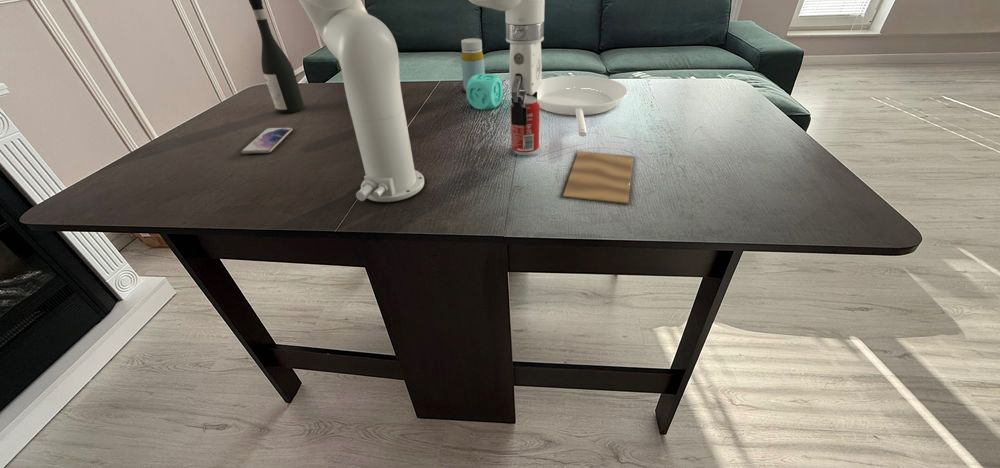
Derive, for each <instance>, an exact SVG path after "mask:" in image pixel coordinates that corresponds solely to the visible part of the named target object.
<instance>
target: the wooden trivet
mask: <svg viewBox="0 0 1000 468" xmlns="http://www.w3.org/2000/svg"><path fill="white" fill-rule="evenodd" d="M633 159H634V157H633V156H631V155H619V154H609V153H608V154H607V153H597V152H588V151H587V152H586V151H585V152H584V151H577V154H576V157H575V159H574V162H573V165H572V168H571V171H570V174H569V177H568V180H567V182H566V185H565V188H564V191H563V194H562V197H563V198H571V199H578V200H579V199H580V200H588V201H597V202H606V203H615V204H623V205H628V204H629V199H630V198H629V197H630V189H631V180H632V179H631V178H632V171H633V170H632V169H633V161H634V160H633Z"/></svg>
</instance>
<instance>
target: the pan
mask: <svg viewBox="0 0 1000 468" xmlns="http://www.w3.org/2000/svg"><path fill="white" fill-rule="evenodd" d="M574 87H575V88H574ZM566 88H570V89H566ZM581 88H591V89H595V90H591V89H581ZM596 90H598V91H596ZM600 91H601V92H600ZM536 92H537V102H538V104H539V106H540V109H541V110H544V111H547V112H550V113H553V114H556V115H557V114H558V115H562V116H576V117H575V118H576V124H577V131H578V135H579V137H582V138H585V137H586V136H587V135H588V133H587V128H586V122H585V116H592V115H598V114H601V113H605V112H608V111H610V110H612V109H614V107H616V106H617V105H618V104H619V103H620V102H621V101H623V100H624V99H625V98H626V97H627V95H628V93H629V92H628V88H627V87H626V86H625V85H624V84H622V83H621V82H619V81H616V80H614V79H611V78H606V77H603V76H602V77H601V76H594V75H585V74H584V75H583V74H581V75H580V74H579V75H578V74H577V75H576V74H574V75H572V74H571V75H558V76H557V75H556V76H551V77H545V78H542V82H541V85H540V86H539V88H538V89H537V91H536Z"/></svg>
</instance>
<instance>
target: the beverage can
mask: <svg viewBox="0 0 1000 468" xmlns="http://www.w3.org/2000/svg"><path fill="white" fill-rule="evenodd" d="M521 98H522V99H523V96H521ZM525 106H527V124H526V126H521V125H512V118H511V117H510V137H511V138H510V141H511V143H510V145H511V150H513V151H514V152H515V154H518V155H520V156H530V155H533V154H535V153H536V152H537V150H538V149H539V148H540V114H541V113H540V111H541V110H540V109H541V108H540V106H539V104H538V102H537V99H536V98H535V97H533V96H527V98H526V104H525Z"/></svg>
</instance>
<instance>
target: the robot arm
mask: <svg viewBox="0 0 1000 468" xmlns="http://www.w3.org/2000/svg"><path fill="white" fill-rule="evenodd" d="M298 1H299V3H300V5H301V7H302V8H303V10H304V11H305V13H306V15H307V17H308V18H309V21H310V22H311V23H312V25H313V26H314V29H315V30H316V31H317V33H318V35H319V36H320V38H321V40H322V41H323V43H324V45H325V46H326V47H327V49H328V50H329V52H330V53H331V54H332V56H333V57H334V58H335V59H336V60H337V61H338V63H339V67H340V71H341V75H342V80H343V86H344V91H345V96H346V101H347V104H348V109H349V115H350V117H351V121H352V125H353V130H354V132H355V136H356V141H357V145H358V148H359V149H358V150H359V154H360V157H361V158H360V159H361V162H362V165H363V169H364V174H365V175H364V176H363V179H364V180H362V181H361V184H360V188H359V190H358V191H357V192H356V193H355V198H356V199H357V200H358V201H360V202H363V201H366V200H367V199H368V200H370V201H373V202H378V203H391V202H392V203H393V202H398V201H402V200H406V199H409V198H411V197H413V196H415V195H417V194H418V193H419V192H421V190H422V189H423V188H424V186H425V177H424V175H423V174H422V173H421V172H419V171H418V170H416V169H415V163H414V157H413V153H412V147H411V146H412V145H411V140H410V134H409V129H408V122H407V117H406V111H405V106H404V100H403V94H402V86H401V76H400V75H401V74H400V57H399V50H398V45H397V42H396V39H395V37H394V35H393V33H392V32H391V30H390V29H389V28H388V27H387V25H386V24H385V23H384V22H382V20H380V19H378V17H375V16H373V15H371V14H370V13H369V12H368V11H367V9H366V7H365V5H364V3H363V2H362V0H298ZM468 2H470V3H471V4H473V5H476V6H478V7H482V8H486V9H493V10H495V11H501V12H504V13H505V14H504V15H505V41H506V42H507V43H509V61H508V63H509V64H508V65H509V72H508V73H509V74H508V75H509V77H508V78H509V79H508V80H509V81H508V82H509V92H510V95H511V98H510V101H511V102H510V119H511V118H512V125H521V126H526V124H527V106H525V104H526V98H527V96H533V97H535V98H536V99H537V92H536V91H537V89H538V88H539V86H540V85H541V82H542V79H543V71H542V70H543V68H542V67H543V64H542V63H543V62H542V42H543V41H544V40H545V5H546V4H545V3H546V1H545V0H468ZM521 96H523V99H522V98H521Z"/></svg>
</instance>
